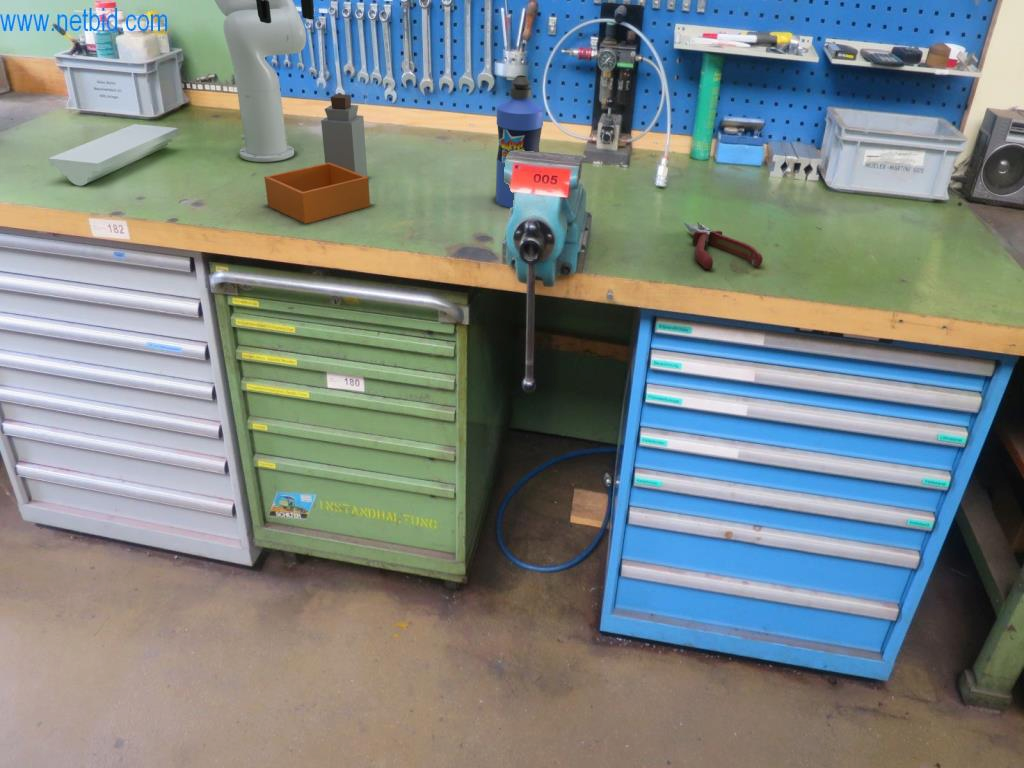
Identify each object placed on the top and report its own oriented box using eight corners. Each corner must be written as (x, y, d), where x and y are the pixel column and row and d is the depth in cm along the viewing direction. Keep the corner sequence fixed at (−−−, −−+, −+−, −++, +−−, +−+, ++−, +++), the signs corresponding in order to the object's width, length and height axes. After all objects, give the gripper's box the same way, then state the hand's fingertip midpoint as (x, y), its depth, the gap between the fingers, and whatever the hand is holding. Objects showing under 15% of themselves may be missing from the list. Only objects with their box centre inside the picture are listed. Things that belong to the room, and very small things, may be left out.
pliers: (717, 227, 157) (719, 215, 156) (764, 268, 140) (767, 254, 139) (662, 230, 155) (664, 217, 154) (703, 272, 138) (706, 258, 137)
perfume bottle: (356, 186, 171) (349, 100, 162) (327, 183, 172) (318, 98, 163) (367, 177, 177) (361, 93, 168) (339, 174, 178) (331, 91, 169)
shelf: (182, 150, 190) (178, 128, 188) (103, 188, 165) (97, 163, 163) (139, 146, 192) (134, 124, 189) (55, 183, 167) (48, 158, 164)
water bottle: (507, 191, 172) (510, 69, 159) (546, 198, 169) (552, 75, 156) (487, 203, 165) (489, 77, 152) (527, 211, 162) (533, 83, 148)
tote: (268, 206, 160) (264, 176, 156) (332, 190, 169) (329, 162, 166) (305, 223, 152) (302, 193, 149) (370, 206, 161) (368, 177, 158)
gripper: (305, -80, 155) (313, 15, 164) (223, -81, 145) (238, 21, 154) (327, -78, 151) (334, 19, 160) (245, -79, 140) (258, 26, 149)
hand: (287, 20), depth 157 cm, fingers open, 9 cm apart
